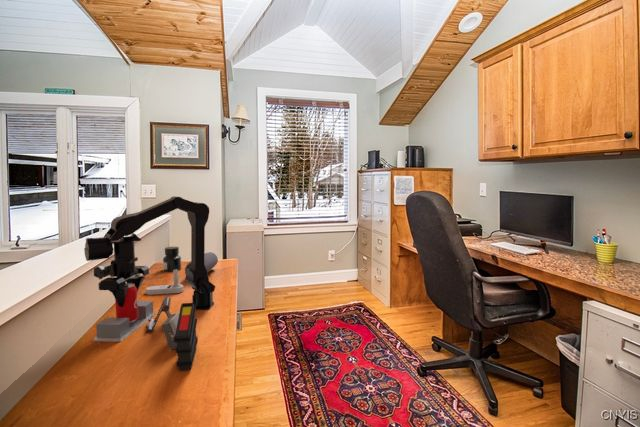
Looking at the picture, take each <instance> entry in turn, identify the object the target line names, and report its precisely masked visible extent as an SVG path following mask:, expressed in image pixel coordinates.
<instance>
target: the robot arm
mask: <svg viewBox="0 0 640 427" xmlns="http://www.w3.org/2000/svg"><path fill="white" fill-rule="evenodd" d="M175 210H180V211H183V212H185V213H187V219H188V221H189V224H190V227H191V228H190V233H191V235H190V236H191V237H190V238H191V241H190V242H191V244H190V245H191V247H190V248H191V252H190V254H191V255H190V256H191V257H190V259H191V260H190V262H191V266H190V268H189V269H185V268H184V273H185V272H186V273H185V278H184V280H185V281H186V282H187V284H188V286H190V287H191V289H192V290H194V291H193V294H192V296H191V297H192V301H191V303H194V305H196V308H195V310H210V309H211V308H212V307H213V305H215V301H213V300H214V296H213V293H214V292H215V289H216V285H215V284H213V283H212V282H211V281H210V279H209V277H210V276H209V272H207V270H206V267H205V264H204V257H205V253H206V252H205V249H206V248H205V240H206V239H205V232H206V230H205V229H206V225H207V223H208V221H209V216H210V207H209V206H208V205H207V204H206V203H204V202H197V201H196V202H195V201H191V200H188V199H185V198H183V197H182V196H171V197H170V198H168V199H166V200H164V201H161V202H158V203H157V204H154V205H152V206H149V207H147V208H145V209H142V210H140V211H138V212H133V213H129V214H124V215H121V216H120V215H119V216H117V217H114V218H113V219H112V221H111V223H110V227H109V229H108V230H107V231H106V233H105V235H103V236H101V237H87V238H85V244H84V248H83V250H84V257H85V261H87V262H89V261H90V262H91V261H96V260H98V261H99V260H105V259H109V258H110V257H112V256H114V258H113V260H111V261H110V264H109V265H106V266H103V265H98V266H96V267H94V268H93V276H94V277H95V278H97V279H98V280H100V281H99V282H98V284H97V285H98V290H99V291H109V292H110V293H112V295H113V297H114V300H115V299H116V301H117V303H118V305H119V307H123V305H124V302H125V298H126V294H127V290H128V286H125V284H126V283H134V284H135V286H136V288H137V293H138V292H139V289H140V288H141V286H142V284H143V282H144V280H145V278H146V276H147V275H149V274H150V269H149V267H148V266H147V265H136V262H137V261H138V257H136V255H135V242H141V241H142V239H141V238H140V237H139V236H138V235H137V234H136V232H137V231H138V230H140V229H141V228H142V227H144V225H146V224H147V223H149V222H151V221H153V220H156V219H157V218H160V217H162V216H164V215H166V214H169V213H171V212H173V211H175ZM103 278H104V279H103Z"/></svg>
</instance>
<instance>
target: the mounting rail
mask: <svg viewBox="0 0 640 427" xmlns="http://www.w3.org/2000/svg"><path fill="white" fill-rule="evenodd" d="M155 315H156V311H154V310H153V313H151V314H150V315H149V316H147V317H138V318H137V319H136V320H135V321H134V322H131V323H129V325H130V330H129V331H128V332H127V333H126V334H124V335H123V336H122V337H120V338H115V337H97V335H96V336H95V337H94V338H93V341H94V342H114V343H115V342H117V343H118V342H120V343H121V342H123V341H124V340H125V339H127V338H128V337H129V336H130V335H131V334H133V333H134V332H135V331H136V330H137V329H139V328H141V326H142V325H144V324H145V323H146V322H148V321H149V318H150V316H151V318H153V317H154V316H155Z"/></svg>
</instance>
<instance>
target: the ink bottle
mask: <svg viewBox="0 0 640 427" xmlns="http://www.w3.org/2000/svg"><path fill="white" fill-rule="evenodd" d="M179 254H180V250H179V246H167V247H165V248H164V255H165V256H164V257H163V258H162V270H163V271H164V272H173V270H176V269H177V270H178V271H180V270H181V269H182V257H181V255H179Z"/></svg>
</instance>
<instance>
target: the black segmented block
mask: <svg viewBox="0 0 640 427" xmlns="http://www.w3.org/2000/svg"><path fill="white" fill-rule="evenodd" d="M195 308H196V305H194V303H192V302H183V303H181V306H180V313H179V318H178V323H177V328H176V333H175V339H174V343H176V342H177V348H176V349H175V354H176V355H177V361H176V364H175V365H176V367H178V369H177V370H178V371H179V372H180V371H181V372H182V371H189V370H191V369H192V367H193V364H194V360H195V356H196V352H197V344H198V341H199V338H198V336H197V325H198V324H197V323H198V319H197V318H196V315H195V314H196V309H195Z"/></svg>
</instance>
